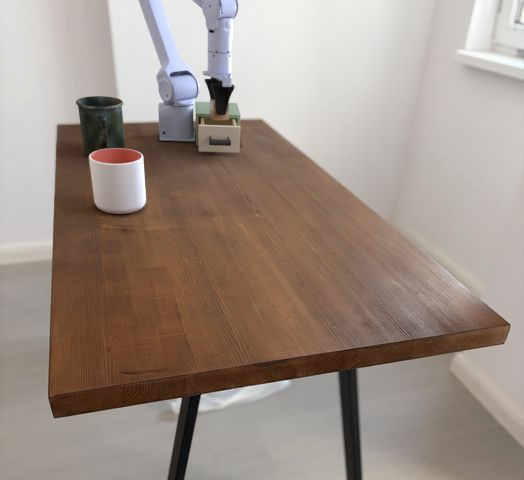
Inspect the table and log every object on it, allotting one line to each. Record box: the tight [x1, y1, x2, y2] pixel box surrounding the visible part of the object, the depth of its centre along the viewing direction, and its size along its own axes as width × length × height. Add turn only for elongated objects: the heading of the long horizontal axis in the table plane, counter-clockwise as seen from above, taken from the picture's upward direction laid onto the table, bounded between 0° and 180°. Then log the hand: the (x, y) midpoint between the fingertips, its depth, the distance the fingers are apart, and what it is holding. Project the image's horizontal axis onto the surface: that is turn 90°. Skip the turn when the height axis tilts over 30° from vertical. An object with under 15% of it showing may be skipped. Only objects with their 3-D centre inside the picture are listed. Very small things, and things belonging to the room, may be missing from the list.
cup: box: [88, 148, 147, 215], centre depth 107 cm, size 10×10×10 cm
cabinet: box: [194, 100, 241, 147], centre depth 150 cm, size 14×12×8 cm
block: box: [209, 99, 230, 120], centre depth 137 cm, size 4×4×4 cm
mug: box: [75, 95, 126, 157], centre depth 131 cm, size 11×15×12 cm
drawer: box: [198, 117, 241, 154], centre depth 141 cm, size 17×10×6 cm, turn 6°
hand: (218, 112), depth 138 cm, fingers closed on block, 4 cm apart
